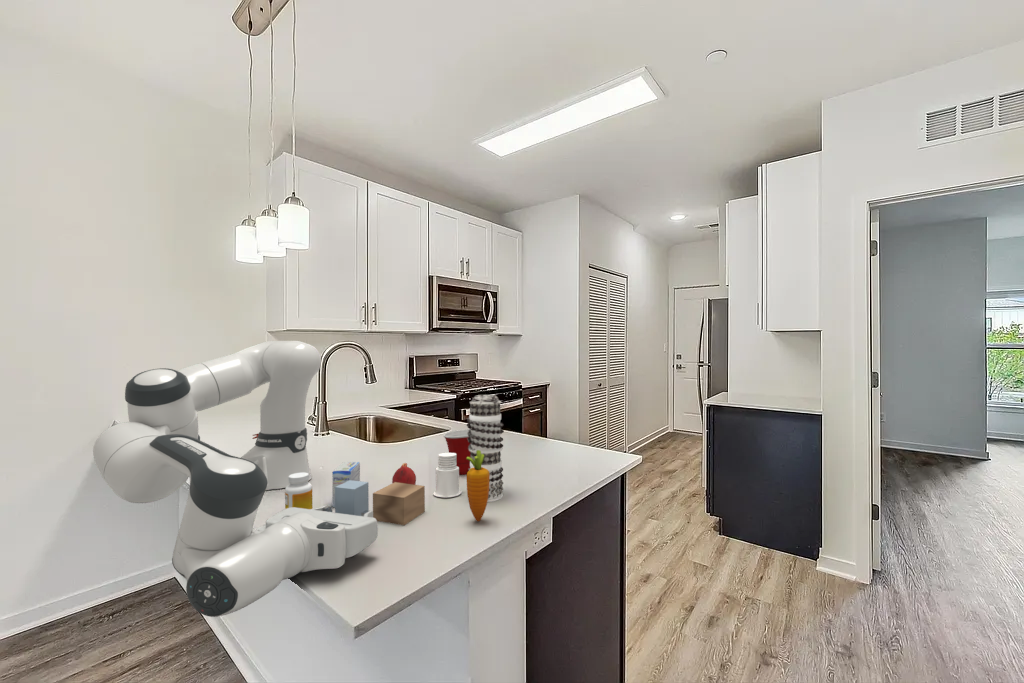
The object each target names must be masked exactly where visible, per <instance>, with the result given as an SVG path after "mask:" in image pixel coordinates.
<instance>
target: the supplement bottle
mask: <svg viewBox="0 0 1024 683" xmlns="http://www.w3.org/2000/svg"><path fill="white" fill-rule="evenodd" d="M308 480H309V474H308V473H304V472H303V473H295V474H291V475H289V479H288V482H289V483H290V485H288V486H287V487H286V488H284V509H287V508H291V507H296V508H304V509H314V508H313V507H314V506H313V485H312V484H311V482H309V481H310V480H309V481H308Z"/></svg>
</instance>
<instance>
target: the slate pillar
mask: <svg viewBox="0 0 1024 683" xmlns="http://www.w3.org/2000/svg"><path fill="white" fill-rule="evenodd" d="M369 497H370V496H369V481H361V480H360V481H352V480H349V481H347V482H345V483H343V484H341V485H339V486H336V487H335V508H334V513H341V514H349V515H356V516H361V513H362V512H364V511H365V510H367V511H370V510H369V501H370V500H369Z"/></svg>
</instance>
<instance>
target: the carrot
mask: <svg viewBox="0 0 1024 683" xmlns="http://www.w3.org/2000/svg"><path fill="white" fill-rule="evenodd" d="M476 453H477V456H475V460H473V459H472V458H470V457H467V460H469V461H470V462H471V463H472V464H473V466H474V468H471V469H470V470H469V471H468V472H467V474H466V494H467V499H468V504H469V509H470V511H471V514H472V516H473V517H474V519H475V521H476V522H477V523H479V522H480V521H482V518H483V516H484V514H485V511H486V509H487V505H488V502H487V501H488V495H489V476H490V474H489V471H488V470H487V469H485V468H483V467H481V465H482V462H483V459H484V455H483V454H481V451H480V450H477V451H476Z"/></svg>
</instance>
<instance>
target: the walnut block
mask: <svg viewBox="0 0 1024 683" xmlns="http://www.w3.org/2000/svg"><path fill="white" fill-rule="evenodd" d="M425 490H426V489H425V485H419V484H415V485H413V484H405V483H398V482H394V483H390V484H388V485H387V486H385V487H383V488H380V489H379V490H377V491H374V492H373V493H372V511H373V518H376V520H377V522H380V523H381V522H383V523H386V524H393V525H398V526H406V525H408V524H409V523H410V522H412V521H413V520H415V519H416V518H417V517H419V516H421V515H422V514H423V513H425V511H426V510H425V509H426V508H425V507H426V503H425V502H426V500H425V499H426V497H425V496H426V495H425V494H426V491H425Z"/></svg>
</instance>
